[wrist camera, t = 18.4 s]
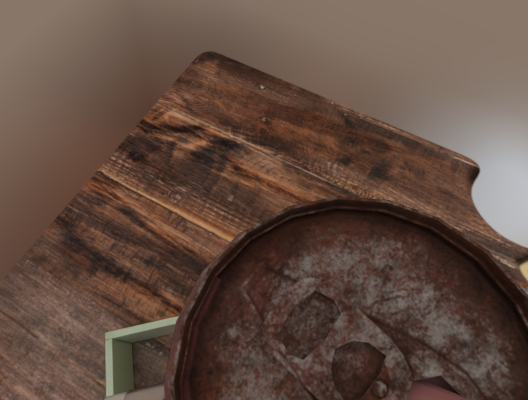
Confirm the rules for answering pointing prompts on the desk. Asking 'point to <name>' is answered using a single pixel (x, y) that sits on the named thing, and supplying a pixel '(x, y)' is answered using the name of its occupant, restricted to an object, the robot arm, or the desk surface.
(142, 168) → the desk surface
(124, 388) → the holder
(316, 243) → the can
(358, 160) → the desk surface
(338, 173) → the desk surface
